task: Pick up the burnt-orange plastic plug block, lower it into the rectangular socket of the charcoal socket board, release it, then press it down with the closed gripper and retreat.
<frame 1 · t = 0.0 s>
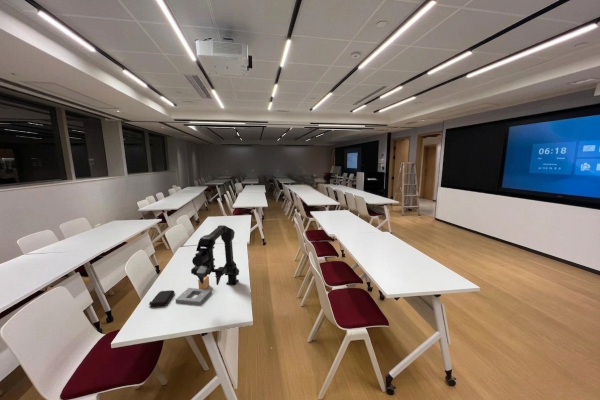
hand: (209, 284, 135), 15 cm above the table, tool pointing down, fingers open, 9 cm apart
socket board: (194, 297, 147), on the table
plug: (204, 287, 158), on the table
carrying case or bag: (162, 300, 144), on the table
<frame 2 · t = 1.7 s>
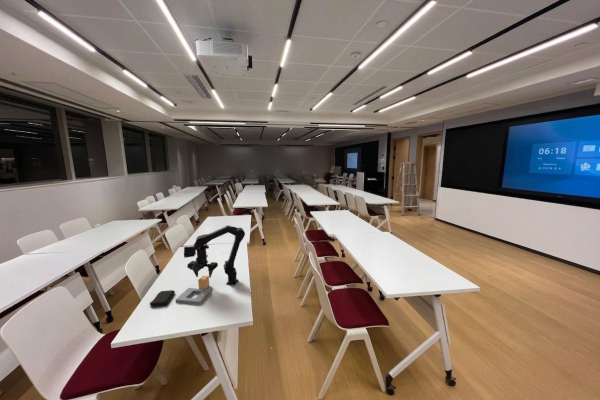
hand: (203, 277, 157), 7 cm above the table, tool pointing down, fingers open, 9 cm apart
nothing on the table moved.
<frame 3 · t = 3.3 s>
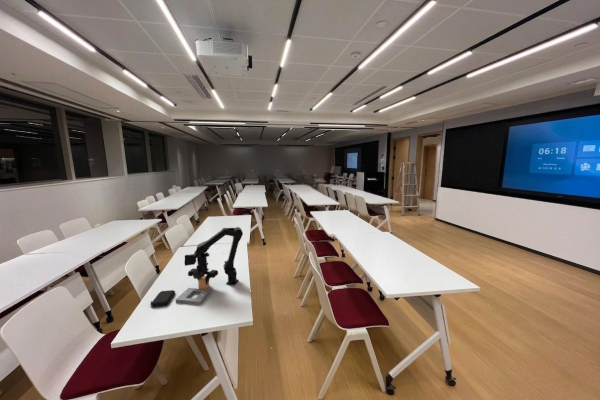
hand: (204, 284, 158), 2 cm above the table, tool pointing down, fingers closed on plug, 4 cm apart
plug: (204, 287, 158), on the table, touching gripper
everything else where it was.
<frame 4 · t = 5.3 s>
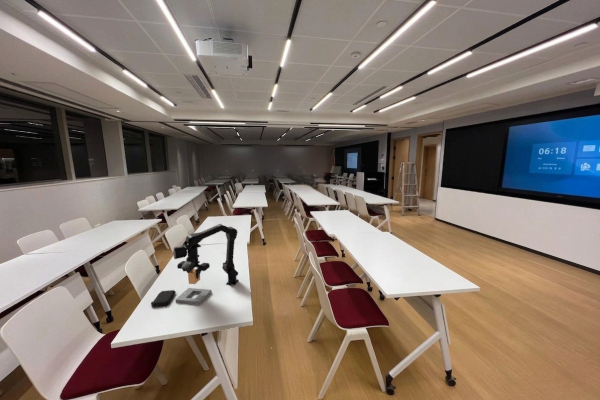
hand: (194, 278, 147), 11 cm above the table, tool pointing down, fingers closed on plug, 4 cm apart
plug: (194, 281, 148), point 9 cm above the table, touching gripper
when the fingers open (3 cm above the table, at t = 7.7 s): plug drops 1 cm, resting in socket board.
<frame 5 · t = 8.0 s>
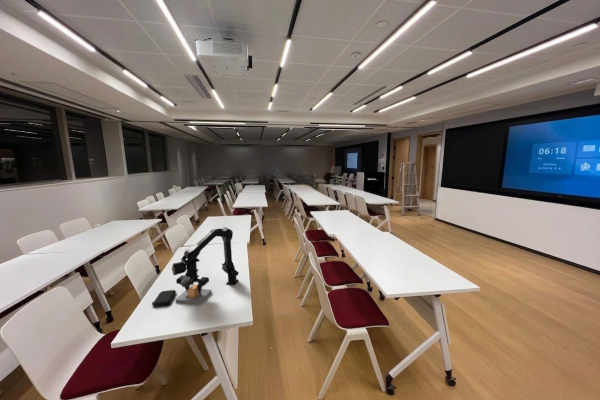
hand: (193, 292, 147), 3 cm above the table, tool pointing down, fingers open, 7 cm apart
plug: (194, 297, 147), resting in socket board
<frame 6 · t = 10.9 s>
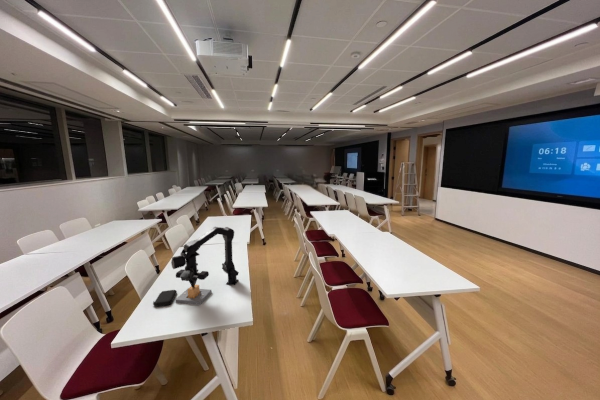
hand: (193, 287, 146), 7 cm above the table, tool pointing down, fingers closed, pressing on plug
plug: (194, 297, 147), resting in socket board, touching gripper
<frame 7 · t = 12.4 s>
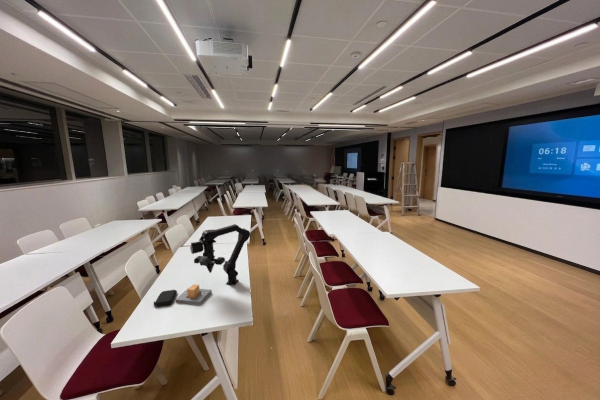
hand: (210, 272, 154), 12 cm above the table, tool pointing down, fingers closed
plug: (194, 297, 147), resting in socket board
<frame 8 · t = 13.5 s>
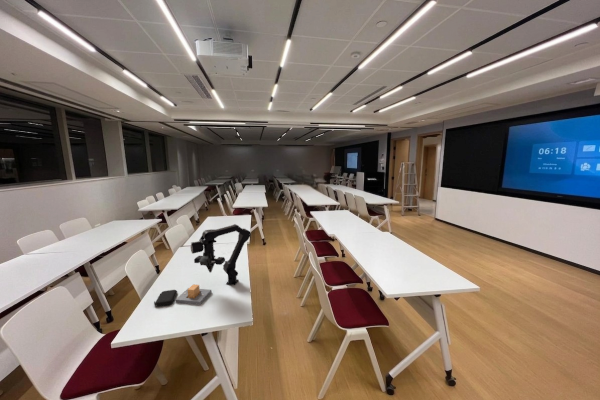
hand: (210, 272, 154), 12 cm above the table, tool pointing down, fingers closed
at the end: plug 0.0 cm off-centre on the socket board, point 0.0 cm above the socket board's base; plug tilted 0°; the gripper is holding nothing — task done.
